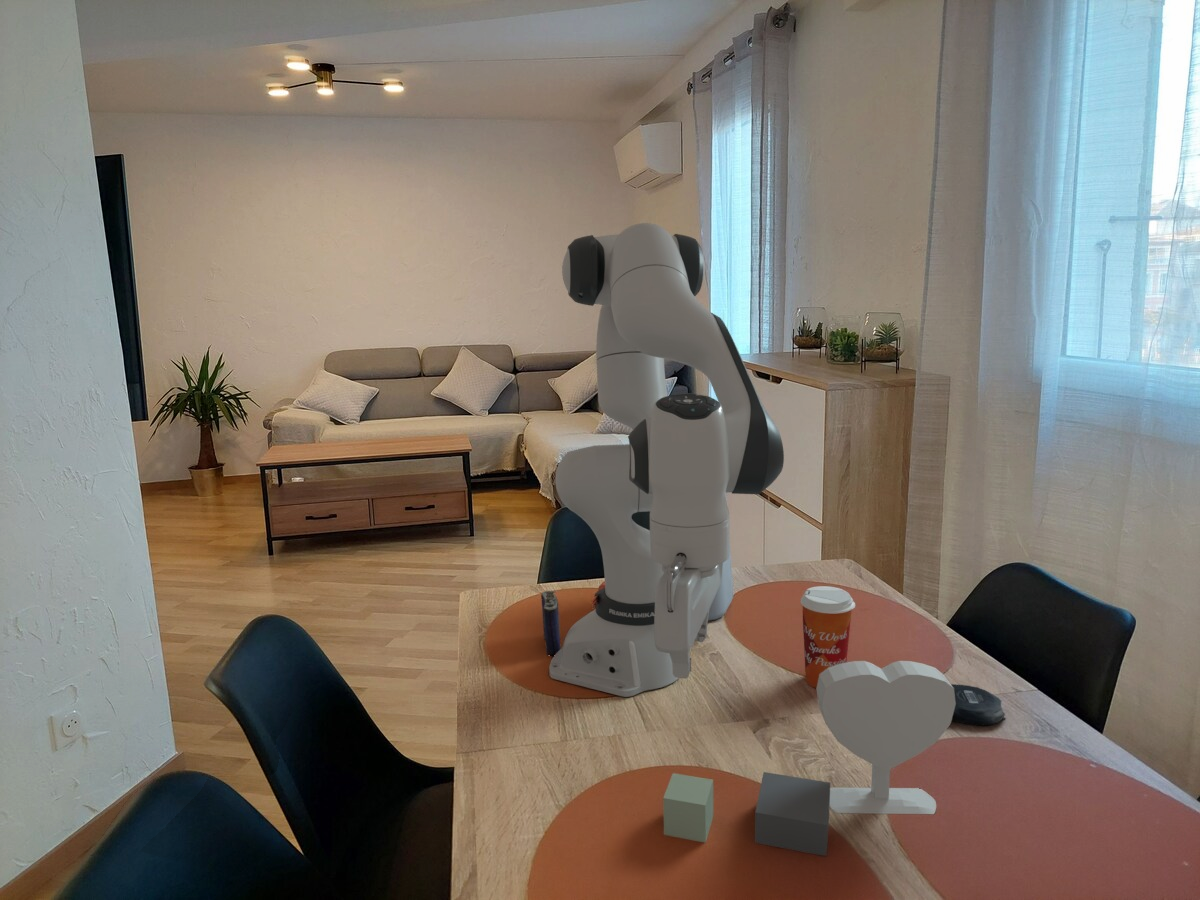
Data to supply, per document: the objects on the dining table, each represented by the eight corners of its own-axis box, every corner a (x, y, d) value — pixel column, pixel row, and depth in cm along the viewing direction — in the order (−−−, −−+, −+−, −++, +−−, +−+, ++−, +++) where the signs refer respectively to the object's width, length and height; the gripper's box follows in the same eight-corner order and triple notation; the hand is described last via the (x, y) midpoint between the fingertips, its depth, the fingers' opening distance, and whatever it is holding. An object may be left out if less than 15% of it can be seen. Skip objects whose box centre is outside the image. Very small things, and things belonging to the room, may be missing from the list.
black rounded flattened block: (904, 735, 115) (1014, 728, 112) (899, 698, 115) (1009, 690, 112) (893, 710, 124) (994, 703, 121) (888, 675, 124) (990, 668, 121)
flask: (542, 635, 148) (540, 581, 146) (558, 634, 148) (556, 580, 146) (546, 658, 139) (543, 601, 137) (562, 656, 140) (560, 599, 137)
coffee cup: (795, 689, 126) (796, 601, 123) (802, 666, 133) (804, 582, 130) (849, 698, 123) (853, 607, 120) (854, 673, 130) (857, 588, 127)
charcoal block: (754, 842, 92) (755, 812, 91) (763, 800, 99) (763, 771, 98) (826, 856, 89) (827, 825, 88) (829, 811, 97) (830, 782, 96)
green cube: (663, 835, 94) (663, 797, 93) (673, 808, 98) (672, 773, 97) (705, 843, 92) (705, 805, 91) (713, 816, 97) (713, 779, 96)
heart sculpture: (936, 788, 100) (944, 657, 97) (950, 814, 96) (960, 677, 92) (812, 787, 101) (815, 658, 98) (820, 812, 96) (824, 677, 93)
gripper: (699, 574, 77) (700, 704, 80) (731, 518, 97) (731, 624, 99) (637, 570, 79) (640, 696, 82) (681, 515, 98) (682, 619, 101)
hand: (690, 656), depth 91 cm, fingers open, 8 cm apart
